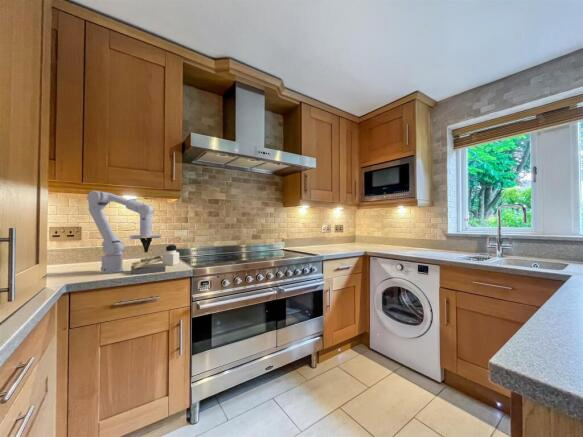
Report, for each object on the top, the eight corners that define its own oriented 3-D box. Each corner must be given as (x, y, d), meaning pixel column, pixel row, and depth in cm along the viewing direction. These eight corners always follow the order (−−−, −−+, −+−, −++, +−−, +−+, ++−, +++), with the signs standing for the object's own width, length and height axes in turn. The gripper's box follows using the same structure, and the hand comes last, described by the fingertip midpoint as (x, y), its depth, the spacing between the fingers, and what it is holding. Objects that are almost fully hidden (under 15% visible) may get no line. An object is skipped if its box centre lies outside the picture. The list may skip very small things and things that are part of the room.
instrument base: (132, 275, 130) (132, 269, 130) (131, 270, 141) (131, 265, 141) (165, 271, 139) (165, 266, 139) (161, 267, 150) (161, 263, 150)
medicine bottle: (179, 263, 163) (179, 244, 163) (173, 265, 156) (173, 245, 156) (168, 263, 164) (168, 244, 164) (162, 265, 157) (162, 245, 157)
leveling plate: (133, 268, 131) (132, 263, 131) (132, 265, 141) (130, 259, 140) (163, 260, 139) (162, 255, 138) (160, 257, 149) (158, 252, 148)
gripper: (130, 227, 132) (130, 254, 132) (162, 226, 140) (162, 251, 140) (129, 227, 138) (129, 252, 138) (160, 226, 146) (160, 250, 146)
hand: (146, 252), depth 139 cm, fingers closed
